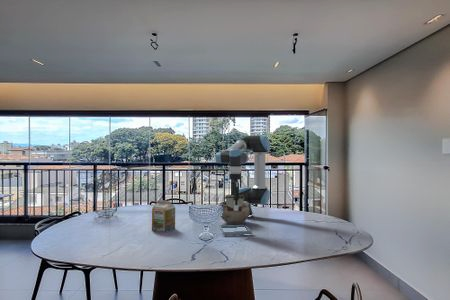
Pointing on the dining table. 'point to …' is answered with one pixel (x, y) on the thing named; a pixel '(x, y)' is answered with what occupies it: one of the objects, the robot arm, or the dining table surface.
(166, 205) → the milk carton
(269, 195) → the robot arm
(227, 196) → the food container
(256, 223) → the dining table surface
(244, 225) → the tray
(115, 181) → the geometric lantern
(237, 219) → the ceramic bowl
